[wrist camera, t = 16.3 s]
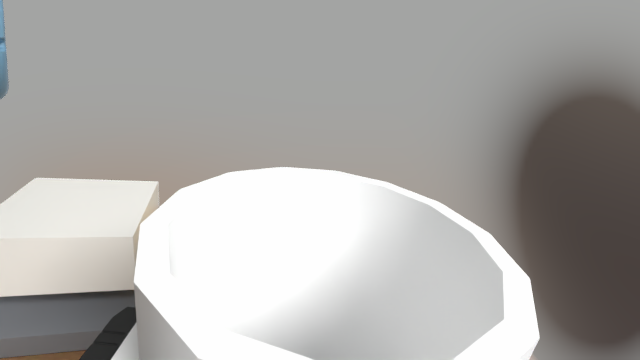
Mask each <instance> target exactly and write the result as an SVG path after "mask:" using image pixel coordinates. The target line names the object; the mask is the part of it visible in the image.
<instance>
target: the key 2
mask: <svg viewBox="0 0 640 360" xmlns="http://www.w3.org/2000/svg"><path fill="white" fill-rule="evenodd" d="M158 208H159V186H158V182H153V181H150V182H149V181H122V180H120V181H119V180H90V179H58V178H35V179H34V180H32V181H31V182H29V183H28V184H27V185H25V186H24V187H23V188H21V189H20V190H19V191H17V192H16V193H15V194H13V195H12V196H11V197H9V198H8V199H7V200H5V201H4V202H3V203H1V204H0V297H5V296H24V295H42V294H61V293H80V292H98V291H117V290H134V275H135V267H136V258H137V249H138V240H139V232H140V224H141V223H142V222H143V221H144V220H145V219H146V218H148V217H149V216H150V215H151V214H152V213H153V212H154V211H156V210H157V209H158Z"/></svg>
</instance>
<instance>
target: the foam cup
mask: <svg viewBox="0 0 640 360" xmlns="http://www.w3.org/2000/svg"><path fill="white" fill-rule="evenodd" d="M134 293H135V306H136V320H137V333H138V347H139V360H529V358H530V356H531V354H532V352H533V350H534V348H535V346H536V344H537V342H538V340H539V331H538V325H537V319H536V313H535V306H534V300H533V294H532V288H531V282H530V278H529V277H528V276H527V275H526V274H525V273H524V272H523V271H522V269H521V268H520V267H519V266H518V265H517V264H516V263H515V261H514V260H513V259H512V258H511V257H510V256H509V255H508V253H507V252H506V251H505V250H504V249H503V248H502V247H501V246H500V244H499V243H498V242H497V241H496V240H495V239H494V238H493V237H492V235H491V234H490V233H488V232H486V231H485V230H483V229H482V228H480V227H478V226H477V225H475V224H474V223H472V222H470V221H469V220H467V219H465V218H464V217H462V216H461V215H459V214H457V213H456V212H454V211H453V210H451V209H449V208H448V207H446V206H445V205H443V204H441V203H440V202H437V201H434V200H432V199H429V198H427V197H424V196H421V195H419V194H416V193H414V192H411V191H409V190H406V189H404V188H401V187H398V186H396V185H393V184H391V183H388V182H384V181H379V180H375V179H370V178H365V177H361V176H357V175H352V174H348V173H343V172H338V171H332V170H318V169H304V168H290V167H277V168H267V169H258V170H247V171H238V172H229V173H226V174H223V175H220V176H217V177H214V178H211V179H208V180H205V181H202V182H199V183H197V184H194V185H191V186H188V187H185V188H182V189H179V190H178V191H177V192H176V193H175V194H174V195H173V196H172V197H170V198H169V199H168V200H167V201H166V202H165V203H164V204H162V205H161V206H160V207H159V208H158V209H157V210H156V211H154V212H153V213H152V214H151V215H150V216H149V217H148V218H146V219H145V220H144V221H143V222H142V223H141V224H140V232H139V240H138V249H137V258H136V267H135V275H134Z"/></svg>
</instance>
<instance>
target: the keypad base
mask: <svg viewBox="0 0 640 360" xmlns="http://www.w3.org/2000/svg"><path fill="white" fill-rule="evenodd" d="M126 307H135V308H136V306H135V293H134V290H117V291H98V292H80V293H61V294H42V295H24V296H5V297H0V358H7V357H18V356H28V355H38V354H48V353H59V352H69V351H79V350H87V349H88V348H89V347H90V345H91V344H93V342H94V340H95V339H96V338H97V336H98V335H99V334H100V333H102V330H103V329H104V327H105V326H106V325H107V324H108V322H109V321H110V320H111V319H112V317H114V316H115V315H116V314H118V313H119V312H121V311H122V310H123V309H125V308H126Z"/></svg>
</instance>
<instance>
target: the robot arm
mask: <svg viewBox="0 0 640 360" xmlns="http://www.w3.org/2000/svg"><path fill="white" fill-rule="evenodd" d="M8 86H9V85H8V69H7V56H6V44H5V26H4V12H3V0H0V99H2V98H3V97H4V96H5V95H6V94H7V92H8ZM79 360H139V347H138V333H137V320H136V308H135V307H126V308H125V309H123V310H122V311H121V312H119V313H118V314H116V315H115V316H114V317H112V319H111V320H110V321H109V322H108V324H107V325H106V326H105V327H104V329H103V330H102V333H100V334H99V335H98V336H97V338H96V339H95V340H94V342H93V344H91V345H90V347H89V348H88V349H87V350H86V352H85V353H84V354H83V355H82V357H81V358H80V359H79Z"/></svg>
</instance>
